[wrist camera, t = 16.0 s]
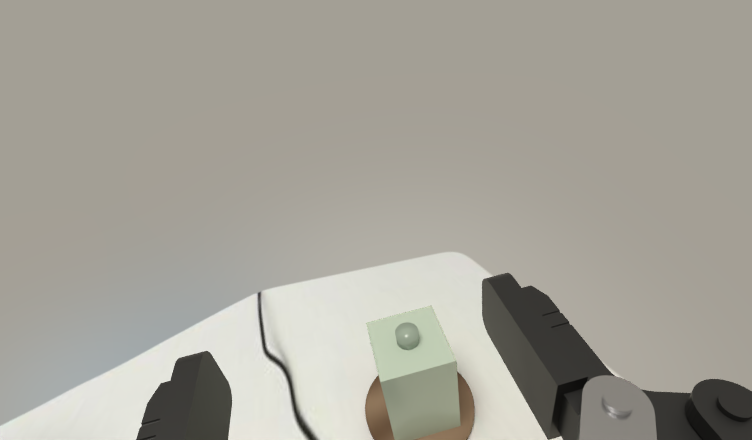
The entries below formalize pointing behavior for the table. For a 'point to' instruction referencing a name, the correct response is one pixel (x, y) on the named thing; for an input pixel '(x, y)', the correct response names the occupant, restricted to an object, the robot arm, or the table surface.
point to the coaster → (455, 436)
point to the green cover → (416, 373)
